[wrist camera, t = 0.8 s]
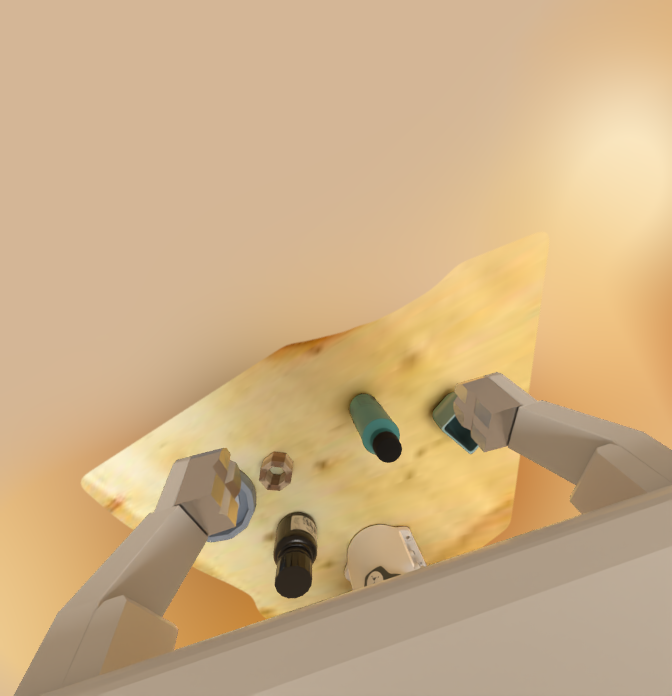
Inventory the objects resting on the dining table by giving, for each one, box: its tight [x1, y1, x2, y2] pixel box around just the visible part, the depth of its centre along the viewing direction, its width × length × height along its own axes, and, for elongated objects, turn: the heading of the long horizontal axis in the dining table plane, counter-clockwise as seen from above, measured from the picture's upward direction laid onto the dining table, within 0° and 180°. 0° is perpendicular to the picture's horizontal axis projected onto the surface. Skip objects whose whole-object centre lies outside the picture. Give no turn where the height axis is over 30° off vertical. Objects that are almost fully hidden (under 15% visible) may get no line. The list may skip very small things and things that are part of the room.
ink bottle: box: [273, 513, 317, 598], centre depth 53 cm, size 10×9×12 cm
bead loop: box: [259, 452, 293, 491], centre depth 55 cm, size 6×6×4 cm
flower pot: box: [433, 392, 479, 454], centre depth 55 cm, size 9×9×9 cm
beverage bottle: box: [350, 394, 402, 463], centre depth 47 cm, size 6×7×20 cm
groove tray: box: [207, 470, 256, 542], centre depth 55 cm, size 16×16×3 cm
